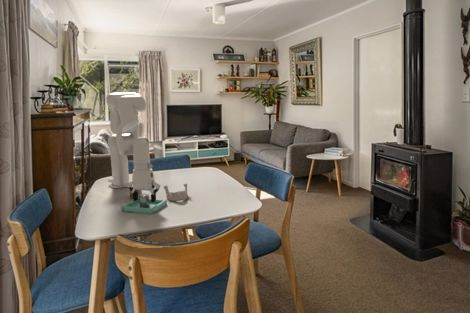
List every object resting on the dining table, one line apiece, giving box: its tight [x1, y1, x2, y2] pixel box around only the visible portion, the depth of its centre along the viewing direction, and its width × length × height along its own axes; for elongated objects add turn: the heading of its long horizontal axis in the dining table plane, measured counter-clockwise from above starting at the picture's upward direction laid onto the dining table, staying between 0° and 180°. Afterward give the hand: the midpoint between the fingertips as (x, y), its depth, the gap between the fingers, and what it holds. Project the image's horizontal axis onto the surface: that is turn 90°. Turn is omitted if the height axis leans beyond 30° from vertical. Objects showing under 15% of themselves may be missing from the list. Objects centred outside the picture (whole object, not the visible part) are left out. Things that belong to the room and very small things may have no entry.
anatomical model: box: [163, 183, 189, 202], centre depth 172 cm, size 13×11×10 cm
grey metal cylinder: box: [139, 194, 150, 208], centre depth 158 cm, size 5×5×6 cm
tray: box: [121, 198, 168, 215], centre depth 159 cm, size 16×14×2 cm
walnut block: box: [128, 189, 143, 200], centre depth 175 cm, size 5×5×5 cm
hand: (144, 201), depth 158 cm, fingers open, 9 cm apart
